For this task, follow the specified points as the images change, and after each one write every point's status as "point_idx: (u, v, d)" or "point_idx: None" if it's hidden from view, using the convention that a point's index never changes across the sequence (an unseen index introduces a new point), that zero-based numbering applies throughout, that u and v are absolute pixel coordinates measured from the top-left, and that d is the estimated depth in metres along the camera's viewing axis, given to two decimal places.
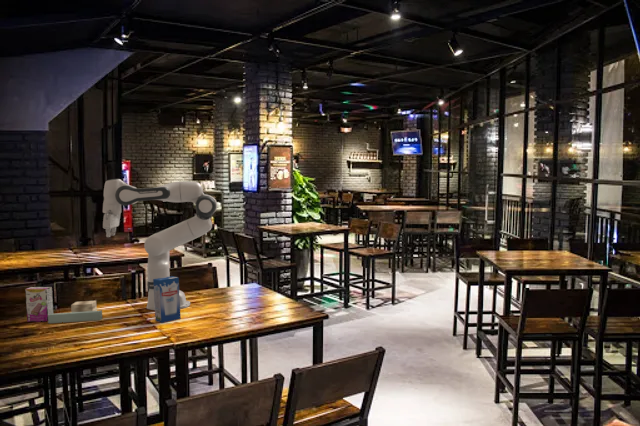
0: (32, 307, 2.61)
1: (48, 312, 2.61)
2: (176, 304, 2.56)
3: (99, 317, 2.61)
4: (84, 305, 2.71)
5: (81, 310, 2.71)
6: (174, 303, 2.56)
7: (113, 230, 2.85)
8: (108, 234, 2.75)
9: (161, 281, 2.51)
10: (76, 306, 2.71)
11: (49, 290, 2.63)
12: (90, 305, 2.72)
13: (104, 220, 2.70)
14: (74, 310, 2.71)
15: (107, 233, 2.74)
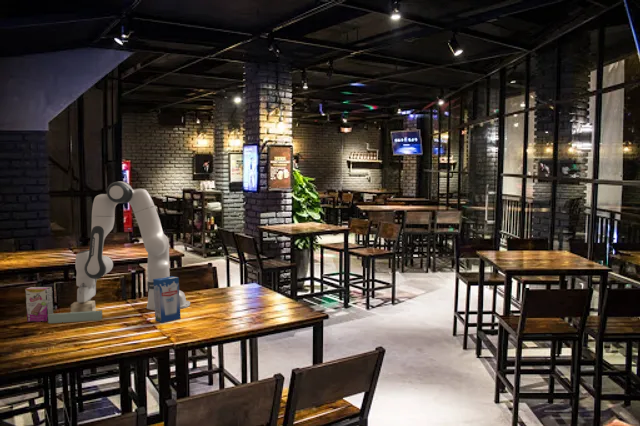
0: (32, 307, 2.61)
1: (48, 312, 2.61)
2: (176, 304, 2.56)
3: (99, 317, 2.61)
4: (84, 305, 2.70)
5: (81, 310, 2.70)
6: (174, 303, 2.55)
7: None
8: None
9: (161, 281, 2.51)
10: (76, 306, 2.69)
11: (49, 289, 2.63)
12: (90, 305, 2.71)
13: (78, 295, 2.70)
14: (73, 311, 2.69)
15: None
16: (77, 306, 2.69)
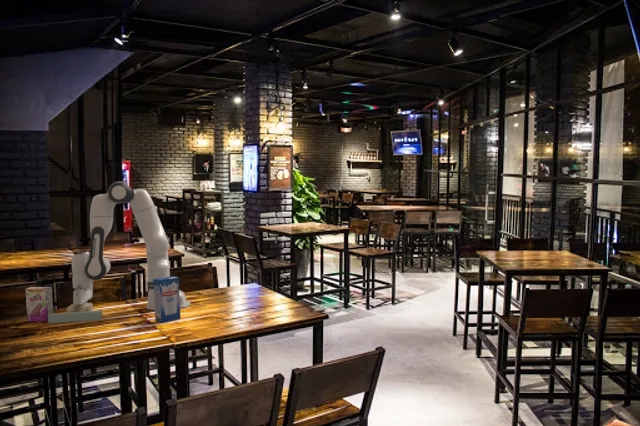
0: (32, 307, 2.61)
1: (48, 312, 2.61)
2: (176, 304, 2.56)
3: (99, 317, 2.61)
4: (80, 308, 2.64)
5: None
6: (174, 303, 2.56)
7: None
8: None
9: (161, 281, 2.51)
10: (71, 309, 2.64)
11: (49, 289, 2.63)
12: (86, 308, 2.65)
13: (74, 297, 2.64)
14: None
15: None
16: (73, 309, 2.64)
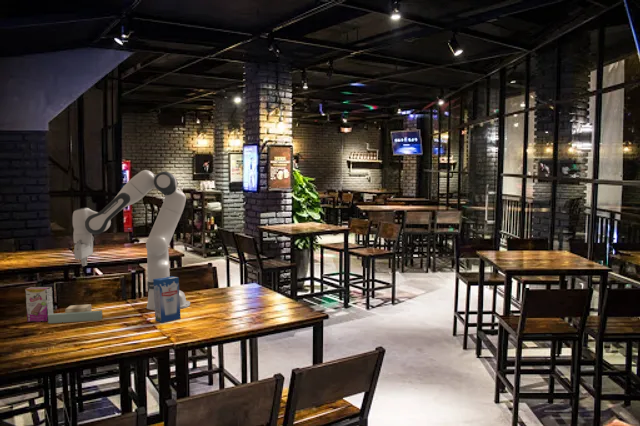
0: (32, 307, 2.61)
1: (48, 312, 2.61)
2: (176, 304, 2.56)
3: (99, 317, 2.61)
4: (78, 309, 2.62)
5: None
6: (174, 303, 2.56)
7: (85, 260, 2.80)
8: (83, 263, 2.77)
9: (161, 281, 2.51)
10: (70, 310, 2.62)
11: (49, 289, 2.63)
12: (85, 309, 2.63)
13: (75, 251, 2.69)
14: None
15: (82, 262, 2.77)
16: (72, 310, 2.62)
